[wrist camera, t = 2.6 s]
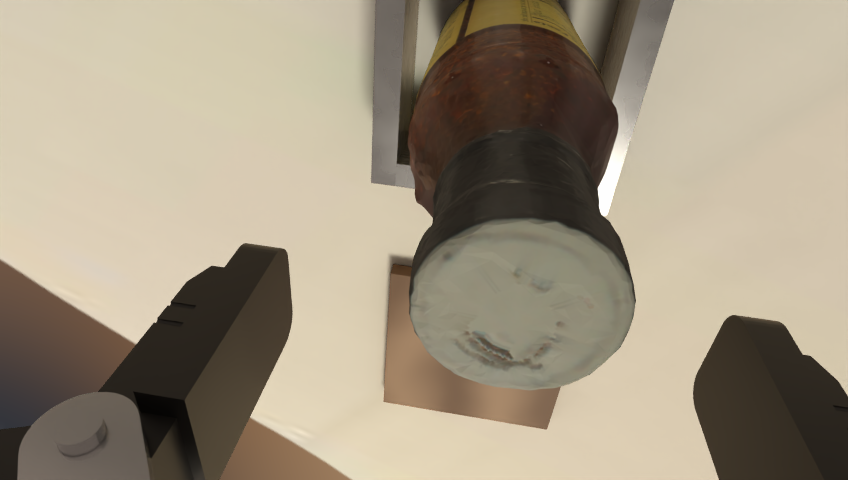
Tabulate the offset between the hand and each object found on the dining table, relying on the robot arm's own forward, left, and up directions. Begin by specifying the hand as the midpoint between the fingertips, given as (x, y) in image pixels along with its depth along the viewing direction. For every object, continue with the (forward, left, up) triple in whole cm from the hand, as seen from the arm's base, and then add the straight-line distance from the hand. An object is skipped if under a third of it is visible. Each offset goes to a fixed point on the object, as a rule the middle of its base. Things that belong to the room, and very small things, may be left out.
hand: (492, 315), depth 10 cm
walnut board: (-1, +20, -19) cm, 28 cm away
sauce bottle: (0, 0, -20) cm, 20 cm away
